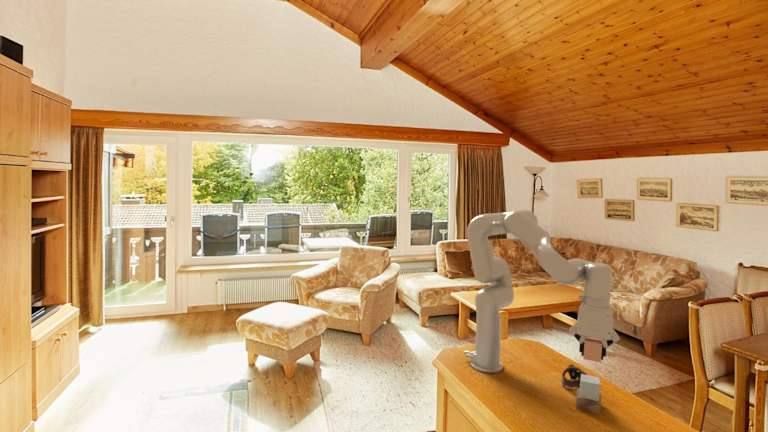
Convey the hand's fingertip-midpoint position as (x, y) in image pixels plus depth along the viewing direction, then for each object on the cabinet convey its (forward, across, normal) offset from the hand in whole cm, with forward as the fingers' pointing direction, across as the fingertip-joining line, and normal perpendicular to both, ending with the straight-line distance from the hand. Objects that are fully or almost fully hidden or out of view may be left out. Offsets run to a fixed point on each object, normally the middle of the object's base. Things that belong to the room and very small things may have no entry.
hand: (592, 355), depth 135 cm
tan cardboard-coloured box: (+18, 0, 0) cm, 18 cm away
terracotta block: (+1, 0, 0) cm, 1 cm away
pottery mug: (+18, -4, +13) cm, 22 cm away
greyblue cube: (+14, 0, 0) cm, 14 cm away
